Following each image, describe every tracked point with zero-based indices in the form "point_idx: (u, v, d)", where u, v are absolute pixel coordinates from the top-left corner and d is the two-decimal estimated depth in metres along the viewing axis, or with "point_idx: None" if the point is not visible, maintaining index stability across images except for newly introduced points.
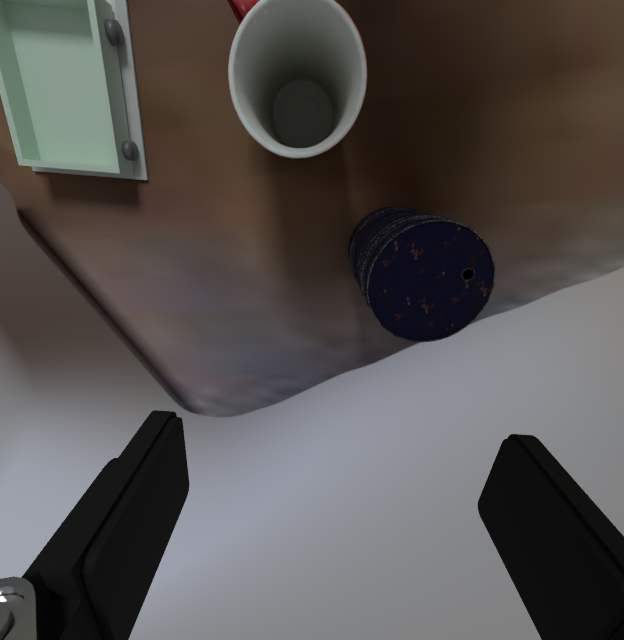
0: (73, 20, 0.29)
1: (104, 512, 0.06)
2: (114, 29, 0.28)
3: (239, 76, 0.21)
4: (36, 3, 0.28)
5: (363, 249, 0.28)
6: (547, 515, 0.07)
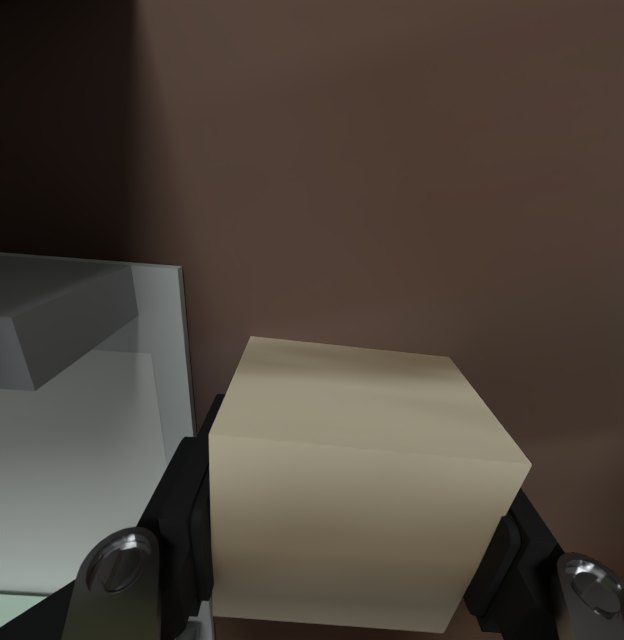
0: None
1: (199, 476, 0.07)
2: None
3: None
4: None
5: None
6: None
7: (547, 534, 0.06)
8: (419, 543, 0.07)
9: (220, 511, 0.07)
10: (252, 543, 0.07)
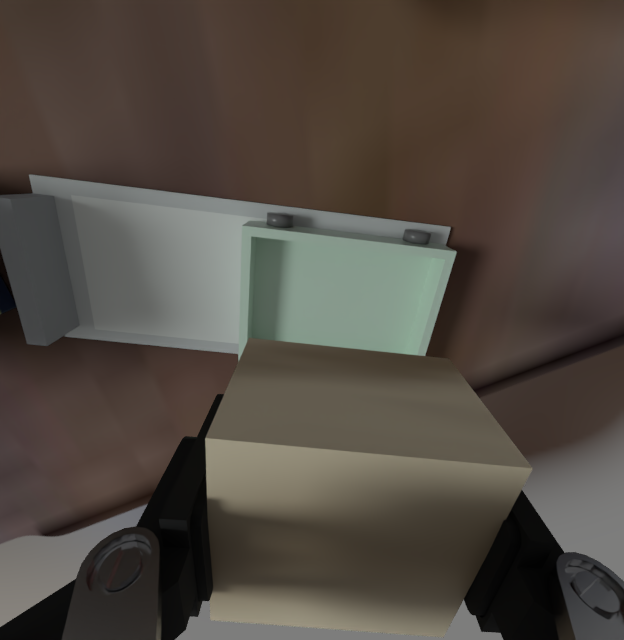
0: (266, 271, 0.23)
1: (200, 476, 0.07)
2: (278, 215, 0.21)
3: None
4: (252, 307, 0.24)
5: None
6: None
7: (546, 534, 0.06)
8: (418, 547, 0.07)
9: (218, 516, 0.06)
10: (250, 548, 0.07)
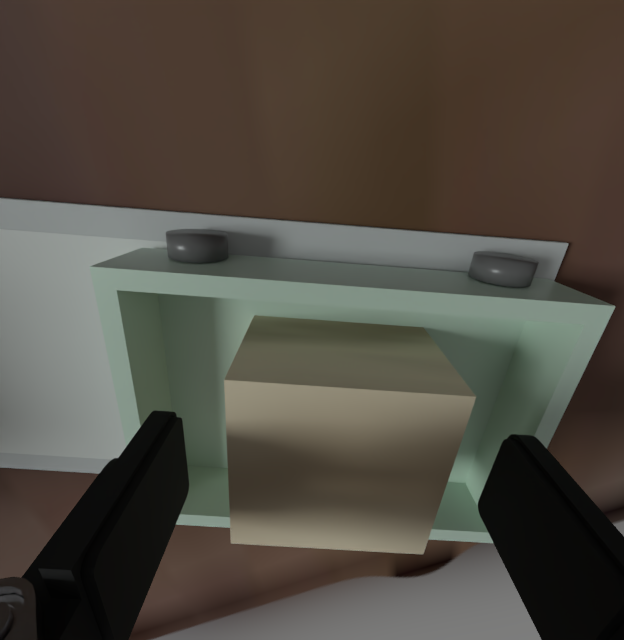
0: (188, 346, 0.12)
1: (104, 512, 0.06)
2: (188, 237, 0.09)
3: None
4: None
5: None
6: (547, 515, 0.07)
7: None
8: (394, 469, 0.08)
9: (235, 447, 0.08)
10: (260, 474, 0.09)
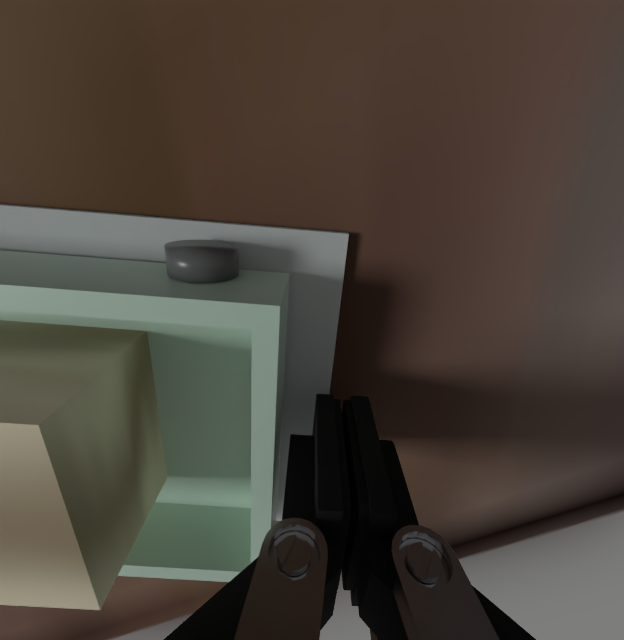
0: None
1: (336, 471, 0.07)
2: None
3: None
4: None
5: None
6: (348, 459, 0.08)
7: (391, 507, 0.06)
8: None
9: None
10: None
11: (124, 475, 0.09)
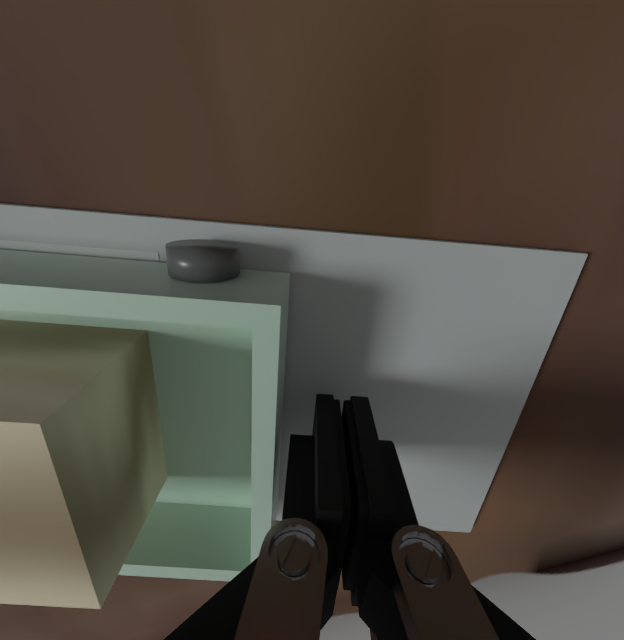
0: None
1: (336, 471, 0.07)
2: None
3: None
4: None
5: None
6: (348, 459, 0.08)
7: (391, 507, 0.06)
8: None
9: None
10: None
11: (125, 475, 0.09)
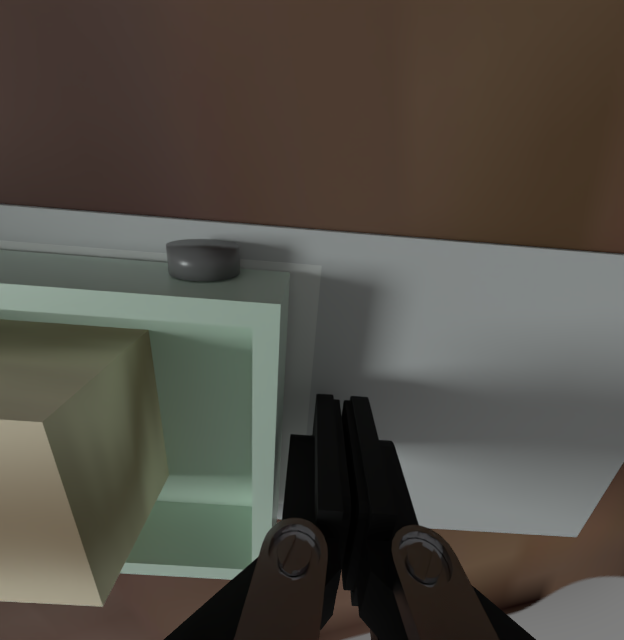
0: None
1: (336, 471, 0.07)
2: None
3: None
4: None
5: None
6: (348, 459, 0.08)
7: (391, 507, 0.06)
8: (0, 510, 0.07)
9: None
10: None
11: (126, 473, 0.09)
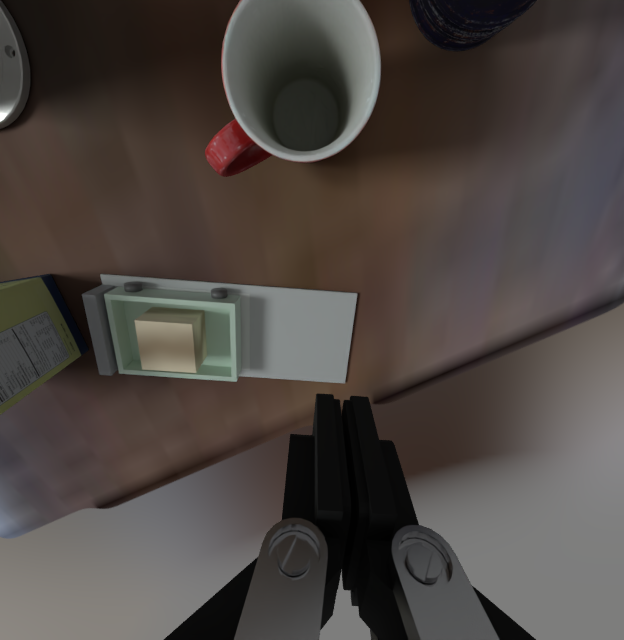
0: (133, 316, 0.37)
1: (336, 471, 0.07)
2: (129, 285, 0.35)
3: (296, 152, 0.20)
4: (128, 339, 0.38)
5: None
6: (348, 459, 0.08)
7: (391, 507, 0.06)
8: (179, 344, 0.34)
9: (139, 337, 0.34)
10: (146, 346, 0.34)
11: (200, 345, 0.36)
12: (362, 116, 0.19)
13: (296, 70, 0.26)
